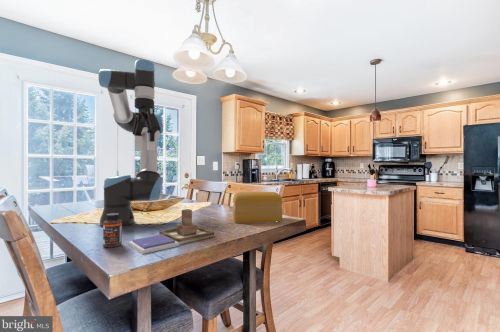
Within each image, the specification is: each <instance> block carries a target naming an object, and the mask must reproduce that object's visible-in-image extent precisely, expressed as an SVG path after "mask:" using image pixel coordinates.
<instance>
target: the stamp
mask: <svg viewBox="0 0 500 332" xmlns="http://www.w3.org/2000/svg"><path fill="white" fill-rule="evenodd" d="M197 226H198V224H195V223H193V210H192V209H191V208H190V209H189V208H186V209H181V223H177V224H176V227H175V228H176V232H177V234H179V235H181V236H183V237H185V236H190V235H195V234H196V232H197Z"/></svg>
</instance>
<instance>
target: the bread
mask: <svg viewBox="0 0 500 332" xmlns="http://www.w3.org/2000/svg"><path fill="white" fill-rule="evenodd" d="M232 203H233V205H232V218H233V222H234V224H257V223H256V222H271V223H277V222H276V221H282V222H283V207H282V206H283V198H282V196H281V195H280V193H278V192H276V191H239V192H235V194H234V195H233V197H232Z"/></svg>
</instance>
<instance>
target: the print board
mask: <svg viewBox="0 0 500 332" xmlns="http://www.w3.org/2000/svg"><path fill="white" fill-rule="evenodd" d="M158 232H159V233H158V235H164V236H166V237H168V238H170V239H173V240H175V241H177V242H179V245H183V244H187V243H191V242H195V241H200V240H205V239H209V237H210V238H213V237H215V231H213V230H210V229H207V228H204V227H201V226H198V225H197V232H196V234H195V235H190V236H185V237H183V236H181V235H179V234H177V232H176V227H175V228H169V229H163V230H159V231H158Z"/></svg>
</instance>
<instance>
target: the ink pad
mask: <svg viewBox="0 0 500 332" xmlns="http://www.w3.org/2000/svg"><path fill="white" fill-rule="evenodd" d="M127 244H128V246H129V247H130V248H133V250H135V251H137V252H138V253H140V254H141V255H144V254H150V253H153V252H157V251H161V250H166V249H170V248H171V249H172V248H174V247H175V248H177V247H179V246H180V244H179V242H177V241H175V240H173V239H170V238H168V237H166V236H164V235H159V234H157V235H152V236H147V237H141V238H136V239H132V240H129V241H128V243H127Z"/></svg>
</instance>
